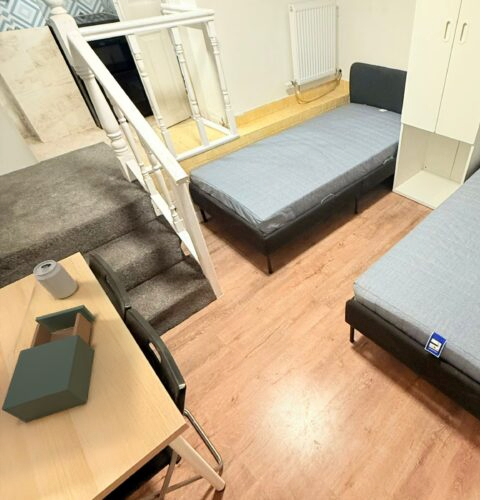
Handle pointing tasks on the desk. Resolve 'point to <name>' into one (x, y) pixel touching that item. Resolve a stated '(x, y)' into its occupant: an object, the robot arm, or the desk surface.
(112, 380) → the desk surface
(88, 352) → the cabinet
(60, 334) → the drawer
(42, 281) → the can
